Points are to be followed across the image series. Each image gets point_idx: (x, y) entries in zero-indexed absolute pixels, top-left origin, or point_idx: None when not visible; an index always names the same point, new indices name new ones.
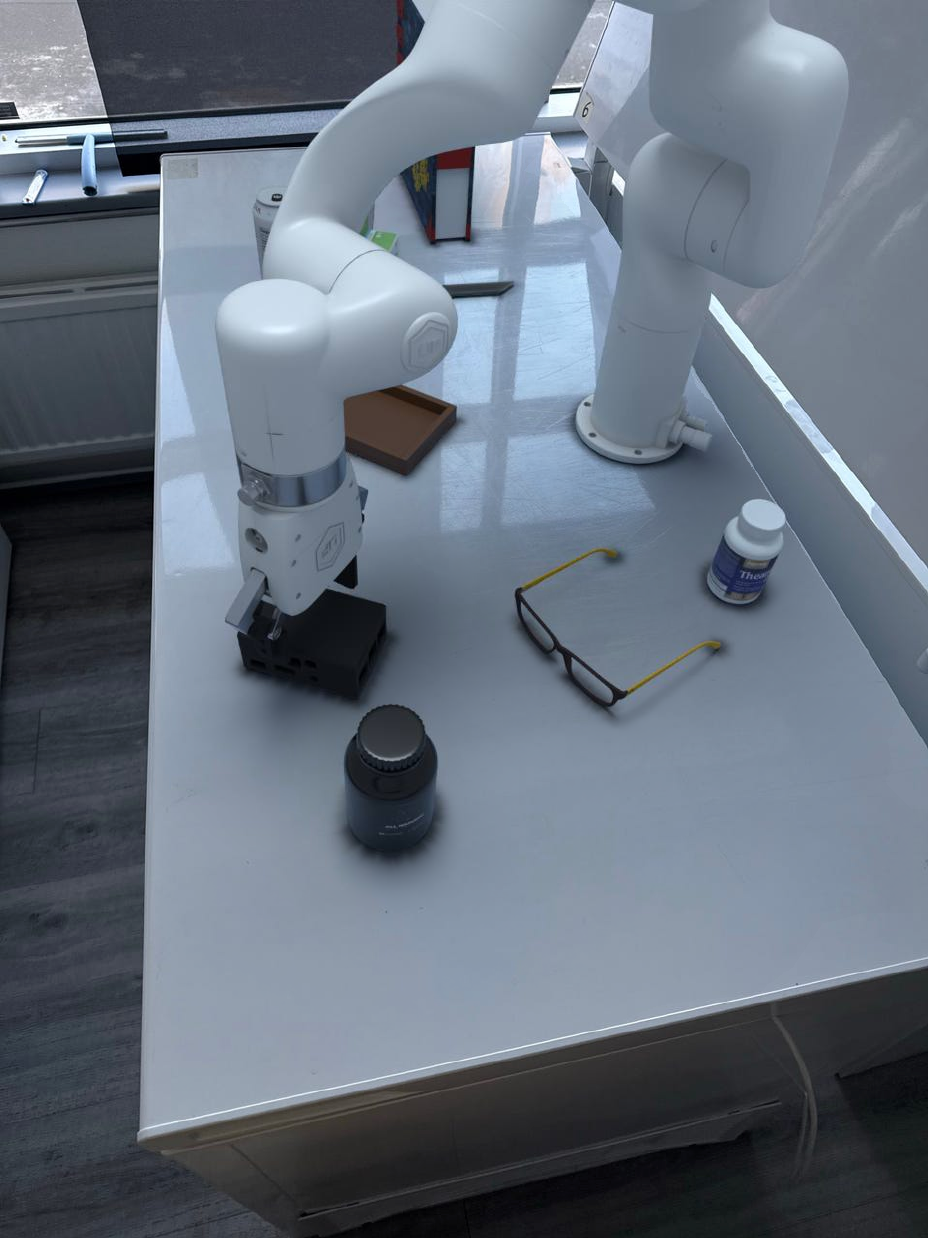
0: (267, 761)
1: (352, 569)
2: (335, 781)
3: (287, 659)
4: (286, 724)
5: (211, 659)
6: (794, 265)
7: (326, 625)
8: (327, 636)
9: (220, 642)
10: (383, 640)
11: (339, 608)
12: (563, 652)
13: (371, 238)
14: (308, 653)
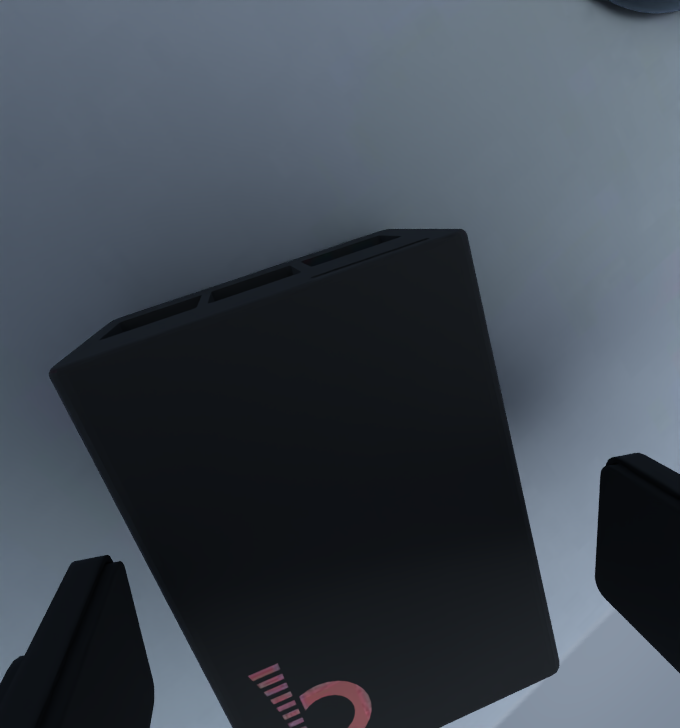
0: (653, 303)
1: (58, 686)
2: (630, 104)
3: (661, 468)
4: (547, 344)
5: None
6: None
7: (354, 488)
8: (397, 444)
9: None
10: (144, 311)
11: (242, 516)
12: None
13: None
14: (507, 439)
